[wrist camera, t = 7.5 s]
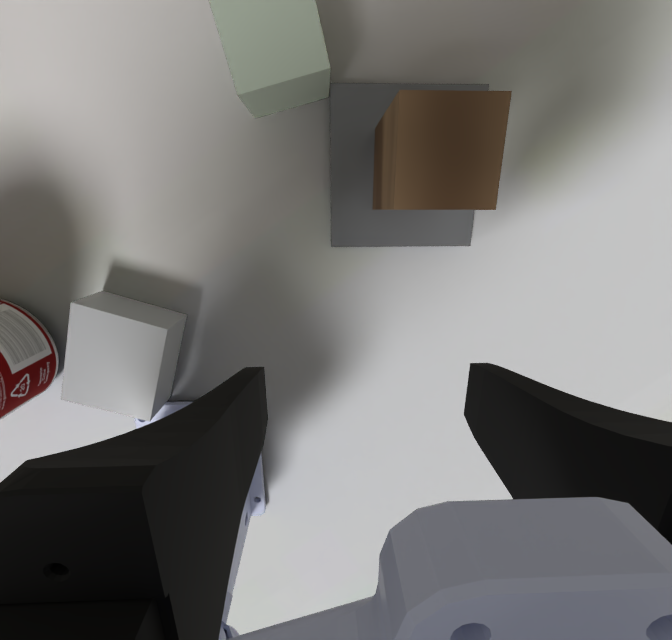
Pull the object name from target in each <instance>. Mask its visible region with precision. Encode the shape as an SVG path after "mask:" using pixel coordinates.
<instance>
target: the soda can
mask: <svg viewBox="0 0 672 640" xmlns="http://www.w3.org/2000/svg"><path fill="white" fill-rule="evenodd" d="M58 364H59V361H58V352H57V348H56V345H55V343H54V340H53V338H52V337H51V335H50V333H49V332H48V330H47V329H46V328H45V326H44V325H43V324H42V323H41V322H40V321H39V320H38V319H37V318H36V317H35V316H34V315H32V314H31V313H30V312H28V311H27V310H25V309H24V308H22V307H20V306H18V305H16V304H14V303H12V302H9V301H6V300H3V299H0V420H1V419H3V418H4V417H6V416H7V415H9V414H10V413H12V412H13V411H15V410H16V409H18V408H19V407H21V406H23V405H24V404H26V403H27V402H29V401H30V400H32V399H33V398H35V397H36V396H38V395H39V394H41V393H42V392H44V391H45V390H46V389H47V388H48V387H49V386H50V385H51V384H52V382H53V381H54V379H55V377H56V374H57V371H58Z"/></svg>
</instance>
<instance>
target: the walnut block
mask: <svg viewBox="0 0 672 640" xmlns="http://www.w3.org/2000/svg"><path fill="white" fill-rule="evenodd" d="M511 92H512V91H457V90H399V92H398V93H397V95H396V96H395V98H394V99H393V101H392V102H391V104H390V106H389V107H388V109H387V110H386V112H385V113H384V115H383V117H382V118H381V120H380V121H379V123H378V124H377V126H376V128H375V145H374V177H373V209H372V210H496V203H497V195H498V188H499V181H500V173H501V166H502V159H503V151H504V144H505V136H506V129H507V122H508V114H509V107H510V100H511Z"/></svg>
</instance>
